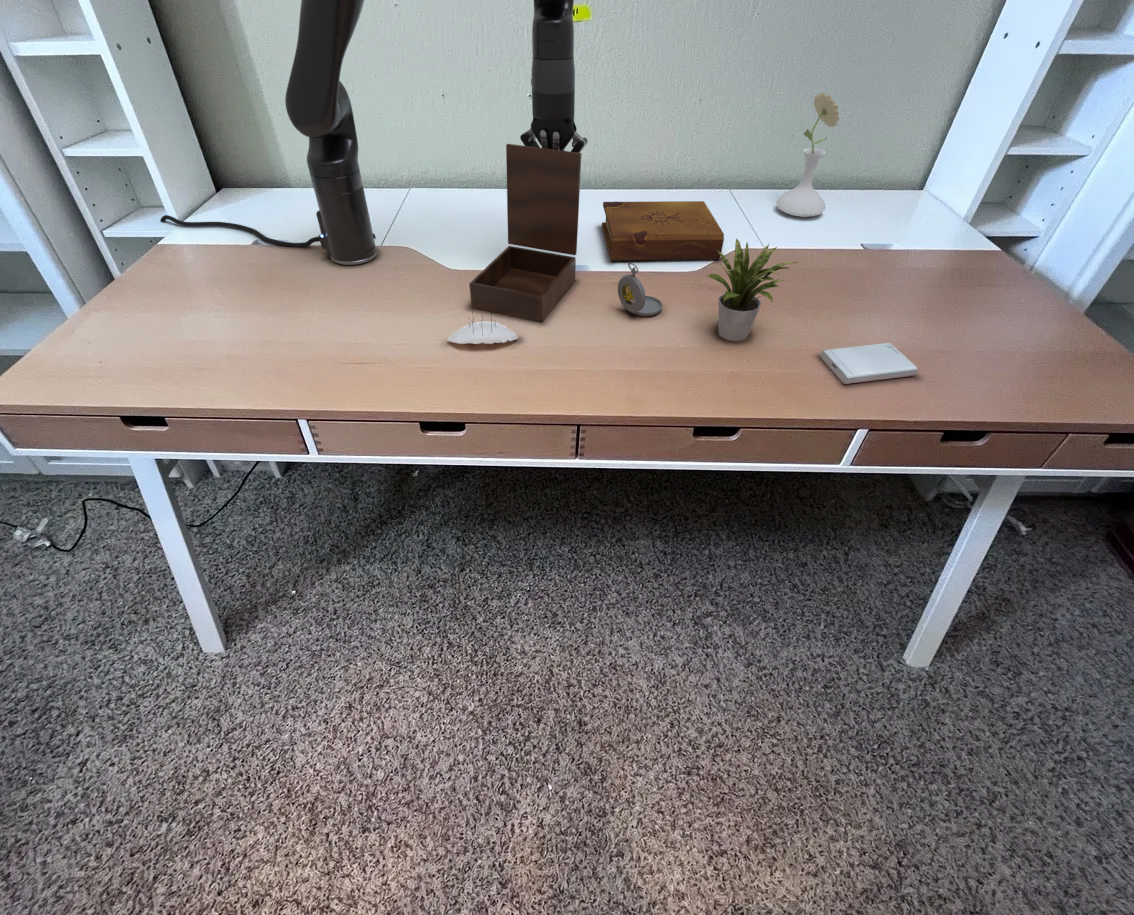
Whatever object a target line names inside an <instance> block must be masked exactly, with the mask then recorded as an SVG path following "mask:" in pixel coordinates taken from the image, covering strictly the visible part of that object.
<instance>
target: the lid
mask: <svg viewBox="0 0 1134 915" xmlns="http://www.w3.org/2000/svg"><path fill="white" fill-rule="evenodd" d="M505 145H506V146H505V152H506V154H505V155H506V156H505V157H506V158H505V159H506V161H505V162H506V202H507V203H506V210H507V212H506V213H507V215H506V216H507V244H508V245H510V246H511V245H512V246H516V247H522V248H528V249H533V250H539V251H545V252H551V253H557V254H562V255H568V256H577V253H578V252H577V251H578V232H579V209H580V191H581V190H580V189H581V172H582V171H581V170H582V152H580V153H577V152H571V151H569V150H565V151H561V150H553V149H545V148H542V147H540V148H538V147H530V146H525V145H522V144H512V143H507V144H505Z"/></svg>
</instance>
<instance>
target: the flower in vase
mask: <svg viewBox="0 0 1134 915" xmlns="http://www.w3.org/2000/svg"><path fill="white" fill-rule="evenodd" d="M813 101H814V102H813V107H814V108H815V112H816V113H817V119H816V121H815V123H814V125H813V127H812V129H811V131H810V129H808V128H807V129H806V130H805V131H804V132H803V136H805V137H806V138H807V139H808V141H810V142H811V147H807V148H804V149H803V150H802V152H803V155H804V159H805V160H804V170H803V174H802V177H801V181H800V182H799V184H798V185H797V186H795V187H793V188H792V189H790V190H788V191H786V192H785V193H783V194H781V195H780V196H779V197H778V198H777V200H776V203H775V204H776V206H777V208H778V210H780V211H781V212H783V213H785V214H788V215H789V216H790V215H791V216H794V217H801V218H802V217H803V218H806V217H815V216H818V215H821V214H822V213H824V212H825V211H826V204H825V202H824V200H823V198H822V197H821V195H820V194H819V193H818V192H817V191H816V190H815V188H814V186H813V178H814V175H815V171H816V169H817V166H818V164H819V162H820V161H821V159H822V158H823V157H824V156H826V154H827V151H826V150H824V149H821V148H816V147H815V146H814V145H816V144H820V143H821V142H823V141H825V140H827V139H828V136H827V137H824V138H823V139H819V140H817V141H815V142H814V131H815V128H816V126H817V124H818V123H819V121H821V122H823V123H824V125H825V126H828V127H829V128H831V127H833V128H834V127H835V126H837V125H838V122H839V121H840V117H839V115H840V112H839V111H838V109H839V106H838V105H837V104H836V102H835V101H834V99H832V96H831V95H830V94H828V95H827V93H826V92H823V91H821V92H820V94H819V93H817V94H816V95H814V100H813Z"/></svg>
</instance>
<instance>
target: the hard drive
mask: <svg viewBox="0 0 1134 915" xmlns="http://www.w3.org/2000/svg"><path fill="white" fill-rule="evenodd" d="M819 357H820V359H821V360H822V361H823V362H824V363H825V365H826V366H827V367H828V368H829V369H830V370H831V371H832V373H834V375H835V376H836V377H837V378H838V379H839V380H840V381H841V383H842V384H844V385H848V384H856V383H866V382H872V381H874V382H875V381H881V380H889V379H897V378H904V377H913V376H916V375H917V372H918V370H919V369H918V367H917V366H916V365H915V364H914V363H913V362H912V361H911V360H910V359H909V358H907V356H905V354H903V353H902V352H901V351H900V350H899V349H898V348H896V346H894V345H893V344H892V343H891V342H884V343H875V344H874V343H873V344H865V345H857V346H848V347H839V348H838V347H837V348H831V349H822V350H821V352H820V355H819Z"/></svg>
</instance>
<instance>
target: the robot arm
mask: <svg viewBox="0 0 1134 915" xmlns="http://www.w3.org/2000/svg"><path fill="white" fill-rule="evenodd" d="M574 1H575V0H533V18H532V24H531V25H532V26H531V28H532V29H531V49H532V57H531V58H532V61H531V73H530V74H531V78H530V86H531V110H532V120H531V122H530V128H529V129H528V130H526V131H524V132H523V133H521V134H520V137H519V139H520V141H521V142H522V144H523V146H530V147H538V148H545V149H553V150H561V151H566V148H567V146H568V145H569V144H570V142H571V141H572V142H571V146H572V148H571V150H570V152H577V153H582V150H584V149H585V148H584V147H586V145H587V144H588V138H586V137H582V136H581V135H580V134H579V133H578V132H577V130H578V128H577V126H576V123H575V106H576V104H575V103H576V102H575V100H576V99H575V98H576V68H575V27H574ZM364 4H365V0H300V10H299V19H298V20H299V21H298V34H297V42H296V47H295V52H294V58H293V63H292V66H291V70H290V74H289V78H288V83H287V87H286V91H285V100H284V103H285V110H286V113H287V116H288V118H289V121H290V123H291V124H292V126H293V128H295V129H296V131H298V132H299V133H300V134H301V135H303V136H305V137H307V138H308V149H307V154H306V164H307V168H308V172H309V176H310V179H311V184H312V187H313V188H312V189H313V192H314V195H315V199H316V202H317V207H318V209H319V210H317V211H316V212H315V214H316V219H317V223H318V226H319V230H320V234H319V235H318V236H315V237H311V238H309V239H308V240H307V241H303V242H289V241H283V240H278V239H273V238H270V237H268V236H265V235H264V234H262V233H261V232H260V231H258V230H257V229H255V228H253V227H249V226H246V225H243V224H239V223H235V222H234V223H232V222H225V221H185V220H184V221H183V220H180V219H178V218H176V217H174V216H171V215H169V214H165V215H163V216H162V217H161V218H160V220H159V222H160V223H165V222H166V220H168V221H171V222H173V223H175V224H177V225H180V226H184V227H226V228H227V227H228V228H233V229H239V230H243V231H246V232H249V233H251V234H253V235H255V236H257V237H258V238H259V239H261V240H262V241H264V242H267V243H269V244H272V245H273V244H274V245H277V246H282V247H289V248H306V247H307V248H308V247H310V246H311V245H312V244H313V243H316V242H319V243H320V246H321V250H325V253H326V257H327V259H330V260H332V262H333V263H335V264H338V265H343V266H356V265H357V266H358V265H362V264H365V263H368V262H371V261H372V260H374V259H375V258H376V257H377V256H378V248H377V247H376V242H375V240H377V237H376V234H374V232H373V227H372V222H371V217H370V212H369V207H368V203H367V198H366V194H365V193H366V192H365V189H364V184H363V178H362V175H361V174H362V173H361V170H360V165H359V141H358V135H357V129H356V122H355V117H354V111H353V106H352V103H351V102H352V101H351V98H350V96H349V93H348V91H347V89H346V87H345V86H344V84H343V83H342V81H341V80H340V78H341V71H342V66H343V61H344V58H345V54H346V52H347V50H348V47H349V44H350V43H351V39H352V37H353V35H354V32H355V30H356V27H357V25H358V22H359V20H360V17H361V14H362V10H363V7H364Z"/></svg>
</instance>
